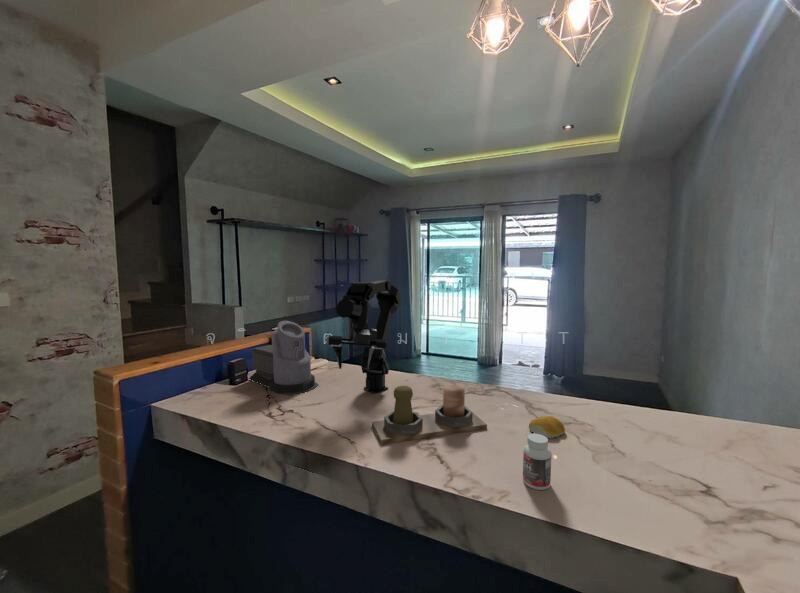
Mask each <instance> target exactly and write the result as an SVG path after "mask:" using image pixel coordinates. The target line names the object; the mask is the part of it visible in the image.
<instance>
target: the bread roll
mask: <svg viewBox="0 0 800 593" xmlns="http://www.w3.org/2000/svg"><path fill="white" fill-rule="evenodd" d="M528 429H529V431H530V432H531V433H532V432H533V433H532V434H534V433H535V434H540V435H543V436H545V437H547V439H555V438H554V437H556V438H557V437H560V435H561V436H563V435H564V434H565V432H566V429H565V426H564V424H563V422H562V421H561V420H559V419H558V418H556V417H554V416H551V415H545V416H538V417H537V418H534V419H532V420H530V422H529V423H528ZM562 434H563V435H562Z"/></svg>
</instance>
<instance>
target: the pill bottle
mask: <svg viewBox="0 0 800 593" xmlns="http://www.w3.org/2000/svg"><path fill="white" fill-rule="evenodd" d="M522 460H523V463H522V464H523V466H522V481H523V483H524V484H525V485H526V486H527V487H528V488H531V489H533V490H539V491H544V490H547V489H549V488H550V486H551V480H552V479H551V478H552V477H551V476H552V451H551V449H550V448H549V438H547V437H545V436H543V435H540V434H534V433H530V434H528V435H527V443H526V444H525V445H524V447H523V459H522Z"/></svg>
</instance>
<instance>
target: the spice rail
mask: <svg viewBox="0 0 800 593" xmlns="http://www.w3.org/2000/svg"><path fill="white" fill-rule="evenodd" d="M442 390H443V391H442V394H443V395H442V400H443V401H442V404H441V405H439V406H438V407H437V408H436V409H435V410H434V413H428V414H420V413H419V412H415V411H412V414H413V421H414V423H411V424H404V425H400V424H396V423H393V416H394V410H393V411H391V412H389V413H388V414H386V415H384V419H382V420H375V421H372V422H371V426H372V429H373V430H374V432H375V434H376V436H377V438H378V441H379V443H380V444H381V445H387V444H393V443H400V442H407V441H413V440H419V439H425V438H433V437H441V436H446V435H453V434H460V432H461V433H467V432H473V431H479V429H481V430H486V428H487V429H488V424H487V423H486V422H485V421H484V420H482V419H481V418H480V417H479V416H478V415H476V414H475V413H474V412H473V411H472V410H471V409H469V408H468V407H467V406H466V405H465V404H466V402H465V398H466V396H465V395H466V393H465V392H466V389H465V388H464V387H463V386H461V385H460V386H459V385H456V384H455V385H453V384H449V385H445V386H444V387H443V389H442Z"/></svg>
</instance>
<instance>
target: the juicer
mask: <svg viewBox="0 0 800 593" xmlns="http://www.w3.org/2000/svg"><path fill="white" fill-rule="evenodd" d="M305 333H306V332H305V331H304V328H303V327H301V326H300V325H299V324H298V323H296V322H294V321H290V320H281V321H279V322H278V324H277V329H275V330H274V331H273V332H272V338H271V339H272V344H267V345H263V346H257V347H253V351H252V352H251V358H252V360H251V361H252V369H253V370H255V372H254V373H253V374H252V375H251V376H250V377H249V378H248V379H251V380H253V381H255V382H258V383H261V384H263V385H262V386H264V385H266V386H265V387H267V386H269V387H268V388H269V390H270V392H272V391H273V392H272V393H274V392H275V394H278V393H279V394H280V395H286V396H295V395H294V394H298V395H301V394H300V393H303V394H305V392H307V393H308V392H309V391H310V392H312V391H313V389H314V390H316V389H317V388H318V387H319V384H318V383H317V382H316V379H315V375H314V374H312V369H311V367H312V366H311V361H312V360H311V355H310V353H309V352H308V351H307V350H306V344H305V343H306V342H305V341H306V340H305V339H306V338H305V335H306V334H305ZM255 382H254V383H255ZM258 383H257V384H258ZM261 384H260V385H261ZM317 386H318V387H317ZM316 387H317V388H316ZM315 388H316V389H315ZM311 390H312V391H311Z"/></svg>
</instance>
